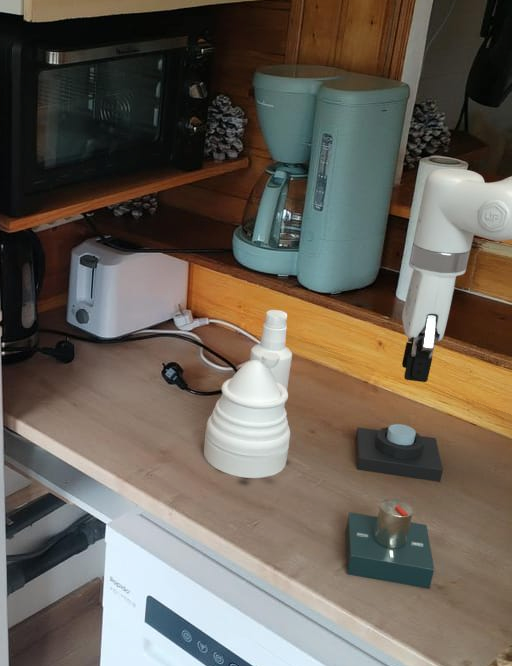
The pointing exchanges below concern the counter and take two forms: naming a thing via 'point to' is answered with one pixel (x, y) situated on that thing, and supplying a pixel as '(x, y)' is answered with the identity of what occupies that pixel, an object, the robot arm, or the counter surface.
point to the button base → (397, 455)
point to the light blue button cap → (401, 434)
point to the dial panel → (388, 553)
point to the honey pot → (250, 423)
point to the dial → (393, 523)
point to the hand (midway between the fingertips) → (414, 372)
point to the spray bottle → (275, 345)
